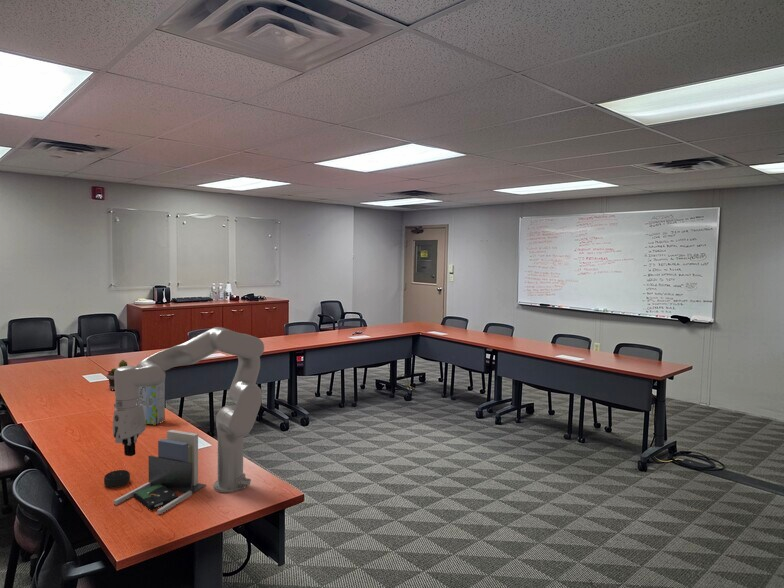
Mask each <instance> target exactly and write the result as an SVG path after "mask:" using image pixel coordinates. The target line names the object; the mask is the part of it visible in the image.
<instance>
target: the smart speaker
mask: <svg viewBox="0 0 784 588" xmlns="http://www.w3.org/2000/svg"><path fill="white" fill-rule="evenodd" d="M130 473H131V472H130V471H129V470H126V469H118V470H117V469H116V470H113V471H110V472H108V473H107V474H105V475H104V477H103V482H104V483H103V484H104V486H105V487H106V488H111V489H112V488H121V487H123V486H126V485H127V484H129V482H130V481H131V474H130Z"/></svg>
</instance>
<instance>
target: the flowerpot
mask: <svg viewBox="0 0 784 588" xmlns="http://www.w3.org/2000/svg"><path fill="white" fill-rule="evenodd" d="M117 364H118V366H117V368H119V367H123V366H128V361H126V360H125V359H124V358H123V359H122V360H120V361H119V362H118V363H117ZM117 368H115V367H114V368H111V369H110V371H109V372H108V373H107V374H106V379H107V380H108V383H109V385H108V387H109V389H110V390H111V389H113V390H115V382H114V371H115V370H116V369H117Z"/></svg>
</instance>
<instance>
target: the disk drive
mask: <svg viewBox="0 0 784 588" xmlns="http://www.w3.org/2000/svg"><path fill="white" fill-rule="evenodd" d="M178 497H179V495H178V494H177V492H175V491H171V490H170V489H168V488H167V487H165V486H164V485H162V484H161V483H160V484H157V485H154V486H150V487H147V488H145V489H142V490H139V491H135V493H134V496H133V498H134V499H135V500H136V501H137V502H139V503H140V504H141V503H142V504H141V505H142V506H144V507H145V506H146V507H147V508H148V509H147V508H146V507H145V508H146V509H147V510H149V509H150V510H152V511H153V509H155V510H156V508H158V507H160V508H161V506H165V505H166V504H168V503H170V502H171V501H173V500H175V499H176V498H178ZM158 509H159V508H158ZM150 510H149V511H150Z"/></svg>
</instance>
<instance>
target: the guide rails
mask: <svg viewBox="0 0 784 588" xmlns="http://www.w3.org/2000/svg"><path fill="white" fill-rule="evenodd" d="M150 486H151V483H149V481H148V482H146V483H144V484H142V485H140V486H138V487H136V488H134V489H133V490H131V491H128V492H127V493H124V494H123V495H122V496H119V497H118V498H116V499H113V505H114V504H115V505H114V506H118V505H119V504H121V503H123V502H125V501H126V499H127V500H128V499H130V498H132V497H134V493H135V491H139V490H142V489H145V488H147V487H150ZM192 495H193V494H192V491H188V492H186V493H182V494H181V495H180V496H179V495H178V498H176V499H175V500H173V501H171V502H170V503H168V504H166V505H165V506H163V507H160V508H158V509H157V515H159V514H161V513H162V514H164V513H166V512H167V511H169V510H170V509H172V508H173V507H175V506H176V504H177V505H178V504H180V503H182V502H183V501H184V499H185V500H187V499H188V498H189V497H191V496H192ZM179 502H180V503H179ZM171 507H172V508H171ZM168 509H169V510H168ZM166 510H167V511H166ZM163 512H164V513H163ZM162 514H161V515H162Z"/></svg>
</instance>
